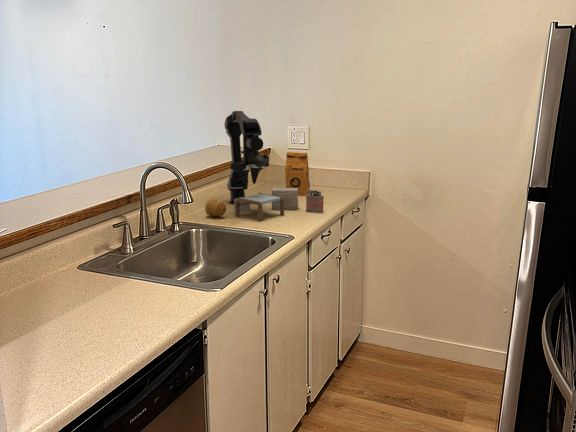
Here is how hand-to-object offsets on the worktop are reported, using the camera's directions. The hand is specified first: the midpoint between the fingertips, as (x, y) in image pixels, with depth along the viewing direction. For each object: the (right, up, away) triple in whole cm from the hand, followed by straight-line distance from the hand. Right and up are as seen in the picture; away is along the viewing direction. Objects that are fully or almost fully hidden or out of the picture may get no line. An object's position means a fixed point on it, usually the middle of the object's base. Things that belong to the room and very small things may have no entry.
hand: (250, 184), depth 249 cm
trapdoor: (+5, -7, -6) cm, 10 cm away
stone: (-4, -11, +8) cm, 14 cm away
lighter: (+28, -12, +4) cm, 31 cm away
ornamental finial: (-13, -15, -7) cm, 21 cm away
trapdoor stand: (+5, -14, -4) cm, 15 cm away
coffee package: (+21, -4, +39) cm, 45 cm away
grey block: (+15, -11, +9) cm, 21 cm away
